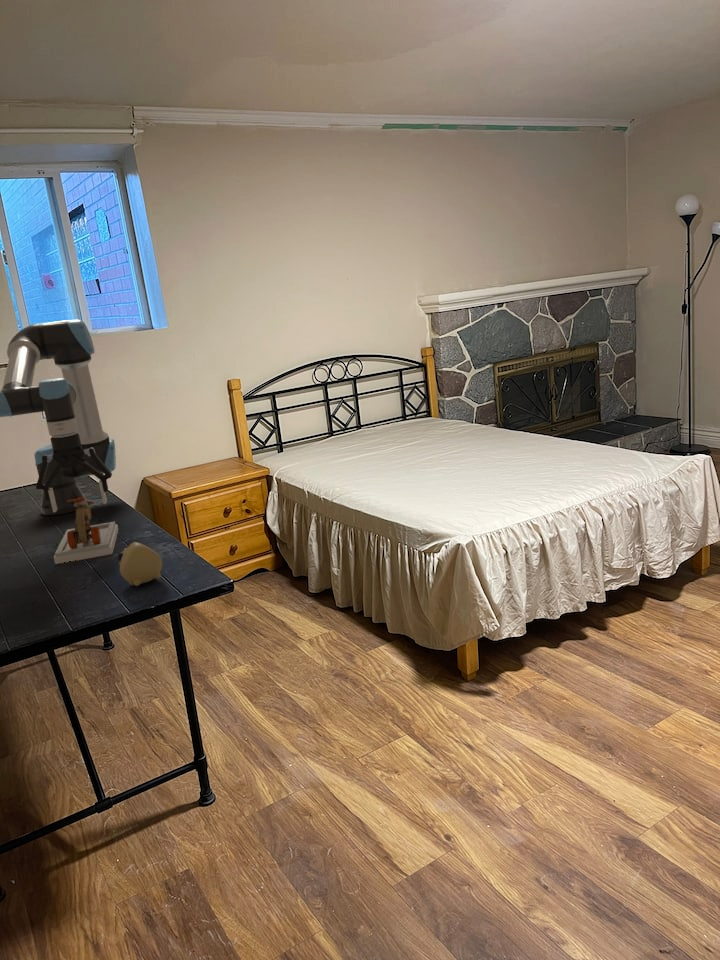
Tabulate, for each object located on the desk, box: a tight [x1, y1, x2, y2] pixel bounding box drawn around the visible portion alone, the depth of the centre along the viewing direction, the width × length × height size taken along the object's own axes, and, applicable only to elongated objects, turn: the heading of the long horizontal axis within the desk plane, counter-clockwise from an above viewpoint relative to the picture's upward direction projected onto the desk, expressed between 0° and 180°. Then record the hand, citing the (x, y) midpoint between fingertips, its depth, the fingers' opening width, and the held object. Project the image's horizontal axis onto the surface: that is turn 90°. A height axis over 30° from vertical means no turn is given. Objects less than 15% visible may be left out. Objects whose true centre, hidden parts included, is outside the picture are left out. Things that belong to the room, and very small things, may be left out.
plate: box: [53, 521, 119, 565], centre depth 203 cm, size 23×15×3 cm, turn 15°
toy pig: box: [117, 541, 163, 587], centre depth 169 cm, size 10×12×11 cm
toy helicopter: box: [67, 497, 101, 548], centre depth 202 cm, size 8×21×14 cm, turn 17°
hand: (80, 506), depth 201 cm, fingers open, 13 cm apart
